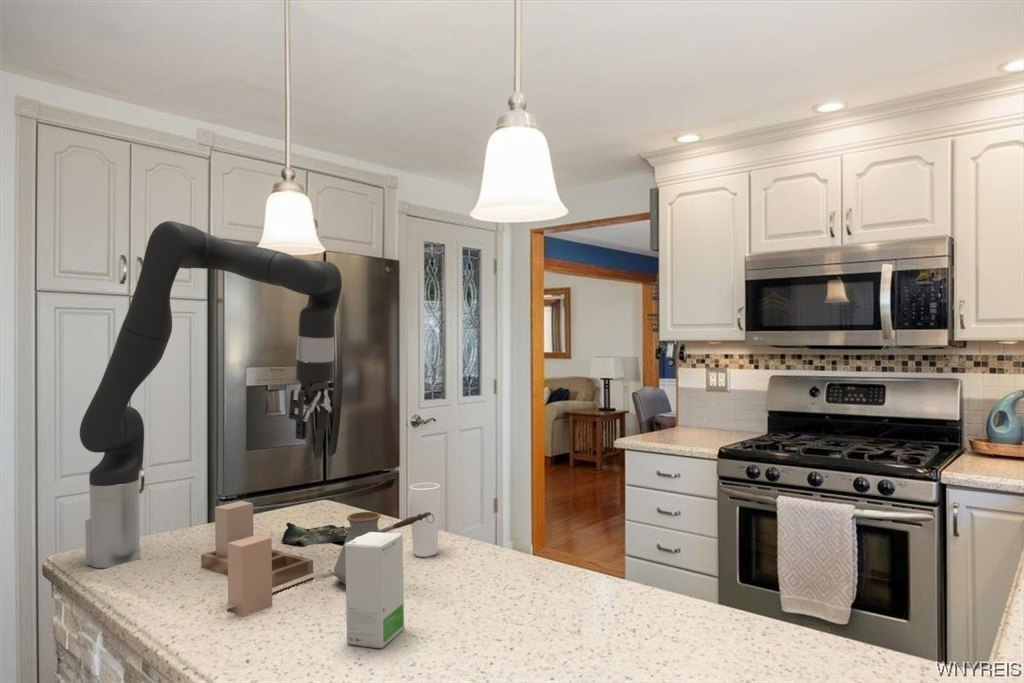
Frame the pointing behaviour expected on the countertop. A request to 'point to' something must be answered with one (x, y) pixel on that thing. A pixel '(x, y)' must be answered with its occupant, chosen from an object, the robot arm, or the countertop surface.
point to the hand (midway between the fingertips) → (312, 434)
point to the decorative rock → (314, 534)
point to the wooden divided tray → (282, 567)
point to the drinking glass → (423, 532)
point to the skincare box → (374, 589)
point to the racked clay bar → (232, 525)
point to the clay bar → (250, 574)
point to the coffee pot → (366, 524)
